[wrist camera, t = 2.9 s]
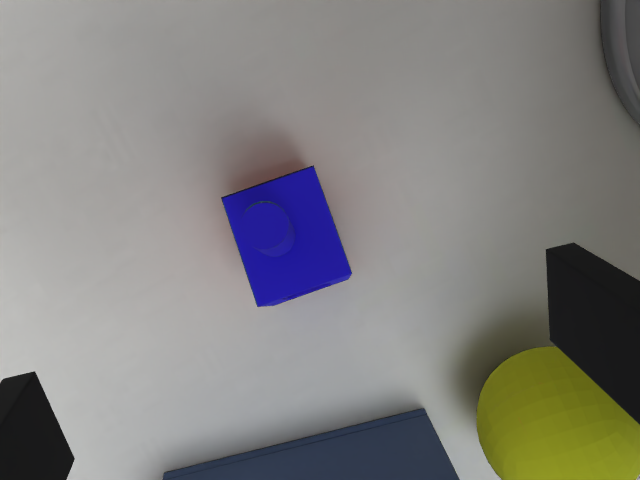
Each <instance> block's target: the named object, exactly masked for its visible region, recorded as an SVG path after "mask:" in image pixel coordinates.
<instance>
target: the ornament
mask: <svg viewBox="0 0 640 480" xmlns="http://www.w3.org/2000/svg"><path fill="white" fill-rule="evenodd" d="M477 432H478V437H479V442H480V444H481V447H482V449H483V452H484V454H485V456H486V458H487V460H488V462H489V464H490V465H491V467H492V468H493V470H494V471H495V473H496V474H497V475H498V476H499V477H500V478H501V479H502V480H636V479H637V477H638V475H639V474H640V425H639V424H638V423H637V422H636V421H635V420H634V419H633V418H632V417H631V416H630V415H629V414H628V413H627V412H626V411H625V410H623V409H622V408H621V407H620V406H619V405H618V404H617V403H616V402H615V401H614V400H613V399H612V398H611V397H610V396H609V395H608V394H607V393H605V392H604V391H603V390H602V389H601V388H600V387H599V386H598V385H597V384H596V383H595V382H594V381H593V380H592V379H591V378H590V377H589V376H587V375H586V374H585V373H584V372H583V371H582V370H581V369H580V368H579V367H578V366H577V365H576V364H575V363H574V362H573V361H572V360H571V359H569V358H568V357H567V356H566V355H565V354H564V353H563V352H562V351H561V350H560V349H559V348H558V347H552V346H548V347H538V348H533V349H529V350H525V351H522V352H520V353H518V354H516V355H513V356H511V357H510V358H509V359H507V360H506V361H504V362H503V363H501V364H500V365H499V366H498V367H497V368H496V369H495V370H494V371H493V372H492V373H491V375H490V376H489V377H488V379H487V380H486V382H485V384H484V386H483V388H482V391H481V393H480V397H479V402H478V406H477Z"/></svg>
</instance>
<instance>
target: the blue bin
mask: <svg viewBox="0 0 640 480" xmlns="http://www.w3.org/2000/svg"><path fill="white" fill-rule="evenodd" d="M163 480H459V478H458V476H457V473H456V471H455V469H454V467H453V465H452V463H451V461H450V459H449V457H448V455H447V453H446V451H445V449H444V447H443V445H442V443H441V441H440V439H439V437H438V435H437V433H436V431H435V429H434V427H433V425H432V423H431V421H430V419H429V417H428V415H427V413H426V411H425V409H419V410H415V411H411V412H407V413H403V414H399V415H395V416H391V417H387V418H383V419H379V420H375V421H371V422H367V423H363V424H359V425H355V426H351V427H347V428H343V429H339V430H335V431H331V432H327V433H323V434H319V435H315V436H311V437H307V438H303V439H299V440H295V441H291V442H287V443H283V444H279V445H275V446H271V447H267V448H263V449H259V450H255V451H251V452H247V453H243V454H239V455H235V456H231V457H227V458H223V459H219V460H215V461H211V462H207V463H203V464H199V465H195V466H190V467H186V468H182V469H178V470H174V471H170V472H166V473H164V476H163Z"/></svg>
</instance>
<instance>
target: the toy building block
mask: <svg viewBox="0 0 640 480" xmlns="http://www.w3.org/2000/svg"><path fill="white" fill-rule="evenodd" d="M221 199H222V202H223V205H224V208H225V211H226V214H227V217H228V220H229V223H230V226H231V229H232V232H233V235H234V238H235V241H236V244H237V247H238V250H239V253H240V256H241V259H242V262H243V265H244V268H245V271H246V274H247V277H248V280H249V283H250V286H251V289H252V292H253V295H254V298H255V301H256V304H257V307H261V306H274V305H277V304H279V303H282V302H285V301H288V300H291V299H294V298H297V297H299V296H302V295H305V294H308V293H311V292H314V291H316V290H319V289H322V288H325V287H328V286H331V285H333V284H336V283H339V282H342V281H345V280H348V279H349V277H350V276H351V274H352V272H351V269H350V266H349V263H348V260H347V258H346V255H345V252H344V249H343V246H342V244H341V241H340V238H339V235H338V232H337V230H336V227H335V224H334V221H333V218H332V216H331V213H330V210H329V207H328V204H327V202H326V199H325V196H324V193H323V190H322V188H321V185H320V182H319V179H318V177H317V174H316V171H315V168H314V165H313V166H310V167H307V168H304V169H301V170H299V171H296V172H293V173H290V174H287V175H284V176H281V177H279V178H276V179H273V180H270V181H267V182H264V183H261V184H258V185H256V186H253V187H250V188H247V189H244V190H241V191H238V192H236V193H233V194H230V195H227V196H224V197H221Z"/></svg>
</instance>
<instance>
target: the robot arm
mask: <svg viewBox="0 0 640 480" xmlns="http://www.w3.org/2000/svg"><path fill="white" fill-rule="evenodd" d="M601 32H602V41H603V48H604V54H605V58H606V62H607V67H608V70H609V73H610V76H611V79H612V82H613V85H614V87H615V89H616V91H617V93H618V95H619V97H620V99H621V101H622V103H623V104H624V106H625V107H626V109H627V111H628V112H629V114H630V115H631V116H632V117H633V119H634V120H635V121H636V122H637V123H638V125H639V126H640V0H601ZM546 264H547V287H548V309H549V332H550V341H551V342H553V343H554V344H555V345H556V346H557V347H558V348H559V349H560V350H561V351H562V352H563V353H564V354H565V355H566V356H567V357H568V358H569V359H571V360H572V361H573V362H574V363H575V364H576V365H577V366H578V367H579V368H580V369H581V370H582V371H583V372H584V373H585V374H586V375H587V376H589V377H590V378H591V379H592V380H593V381H594V382H595V383H596V384H597V385H598V386H599V387H600V388H601V389H602V390H603V391H604V392H605V393H607V394H608V395H609V396H610V397H611V398H612V399H613V400H614V401H615V402H616V403H617V404H618V405H619V406H620V407H621V408H622V409H623V410H625V411H626V412H627V413H628V414H629V415H630V416H631V417H632V418H633V419H634V420H635V421H636V422H637V423H638V424H639V425H640V281H639V280H637V279H635V278H634V277H632V276H630V275H628V274H627V273H625V272H623V271H622V270H620V269H618V268H617V267H615V266H613V265H611V264H610V263H608V262H606V261H605V260H603V259H601V258H599V257H598V256H596V255H594V254H593V253H591V252H589V251H587V250H586V249H584V248H582V247H581V246H579V245H577V244H575V243H570V244H566V245H562V246H557V247H553V248H549V249H546ZM74 459H75V458H74V456H73V454H72V452H71V450H70V447H69V445H68V443H67V441H66V439H65V436H64V434H63V432H62V430H61V428H60V425H59V423H58V421H57V419H56V417H55V414H54V412H53V410H52V408H51V406H50V403H49V401H48V399H47V397H46V395H45V392H44V390H43V388H42V386H41V384H40V381H39V379H38V377H37V375H36V373H35V371H34V372H30V373H26V374H22V375H18V376H13V377H9V378H5V379H3V380H2V381H1V383H0V480H66V479H67V477H68V474H69V472H70V469H71V467H72V464H73V462H74Z"/></svg>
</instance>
